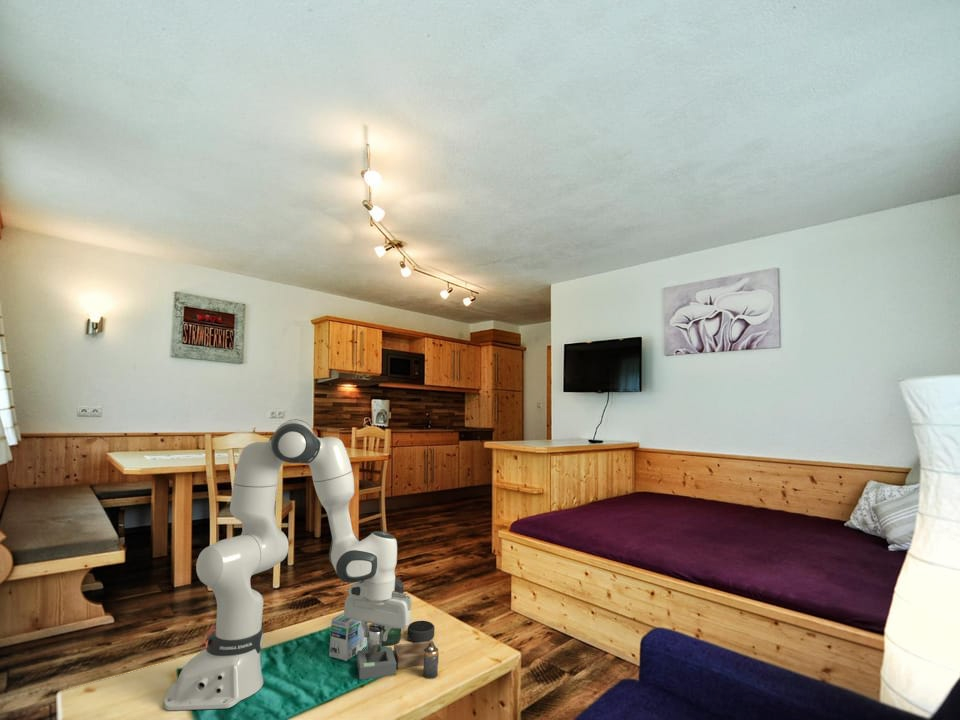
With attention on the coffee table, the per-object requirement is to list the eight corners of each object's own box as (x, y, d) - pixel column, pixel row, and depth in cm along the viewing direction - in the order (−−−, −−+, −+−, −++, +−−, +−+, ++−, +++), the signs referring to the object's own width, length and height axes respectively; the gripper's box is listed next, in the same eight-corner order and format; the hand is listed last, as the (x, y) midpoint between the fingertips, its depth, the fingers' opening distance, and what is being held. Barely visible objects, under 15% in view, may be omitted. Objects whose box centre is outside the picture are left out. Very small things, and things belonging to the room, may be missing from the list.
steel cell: (366, 653, 137) (369, 626, 138) (367, 646, 141) (369, 620, 142) (381, 652, 138) (383, 626, 139) (381, 646, 142) (383, 620, 143)
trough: (397, 668, 139) (398, 657, 139) (393, 655, 146) (394, 645, 147) (438, 663, 142) (438, 653, 143) (432, 651, 150) (432, 640, 150)
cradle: (359, 679, 132) (360, 667, 133) (356, 661, 142) (357, 650, 142) (395, 674, 136) (396, 662, 136) (390, 657, 145) (391, 646, 145)
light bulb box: (346, 661, 142) (349, 623, 143) (328, 656, 144) (330, 618, 145) (367, 646, 151) (369, 610, 153) (350, 641, 154) (352, 606, 155)
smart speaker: (413, 646, 153) (413, 633, 153) (403, 635, 160) (403, 622, 161) (438, 641, 157) (439, 628, 158) (427, 630, 165) (428, 617, 165)
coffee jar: (402, 645, 153) (405, 584, 155) (376, 647, 151) (380, 585, 153) (399, 632, 162) (402, 574, 164) (375, 633, 160) (379, 575, 163)
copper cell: (425, 679, 134) (426, 652, 134) (421, 672, 137) (422, 645, 138) (439, 677, 135) (440, 649, 136) (435, 670, 139) (435, 643, 140)
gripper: (416, 591, 142) (412, 640, 140) (354, 580, 147) (350, 627, 146) (407, 598, 136) (403, 650, 134) (343, 587, 141) (338, 636, 140)
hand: (375, 638), depth 140 cm, fingers closed on steel cell, 4 cm apart
